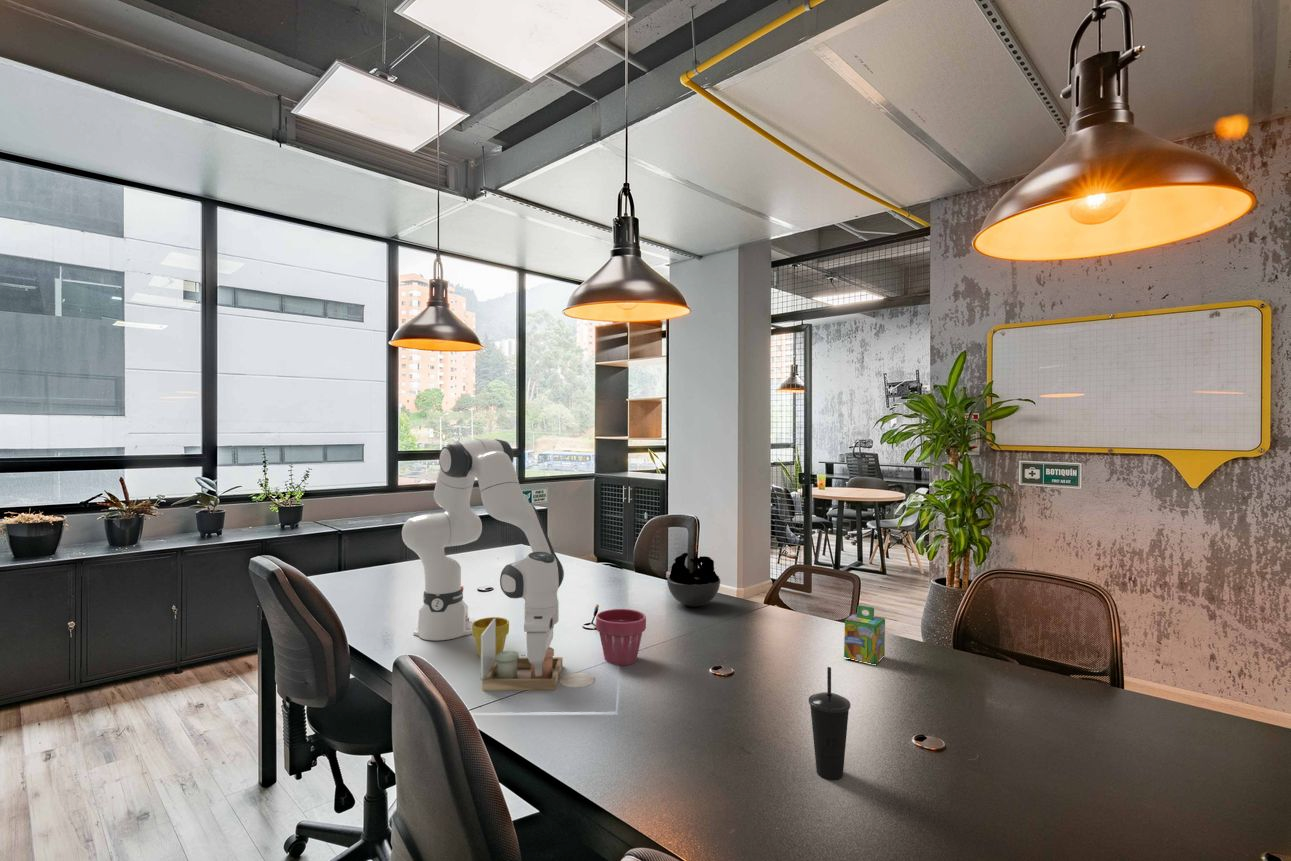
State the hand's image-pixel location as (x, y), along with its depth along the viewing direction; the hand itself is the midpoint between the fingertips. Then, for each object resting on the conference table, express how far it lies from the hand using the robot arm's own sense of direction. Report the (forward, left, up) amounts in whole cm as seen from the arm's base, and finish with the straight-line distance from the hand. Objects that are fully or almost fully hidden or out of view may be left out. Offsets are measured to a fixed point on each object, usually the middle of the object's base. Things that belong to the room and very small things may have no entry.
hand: (541, 668), depth 163 cm
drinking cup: (+46, +62, -3) cm, 77 cm away
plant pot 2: (-14, +21, -3) cm, 25 cm away
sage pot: (0, -9, -2) cm, 9 cm away
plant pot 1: (-18, -17, -3) cm, 25 cm away
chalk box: (-14, +91, -3) cm, 92 cm away
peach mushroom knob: (0, 0, -2) cm, 2 cm away
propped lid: (0, -14, 0) cm, 14 cm away
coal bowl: (-70, +47, -3) cm, 84 cm away
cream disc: (+2, +10, -3) cm, 10 cm away
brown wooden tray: (0, -4, -3) cm, 5 cm away
